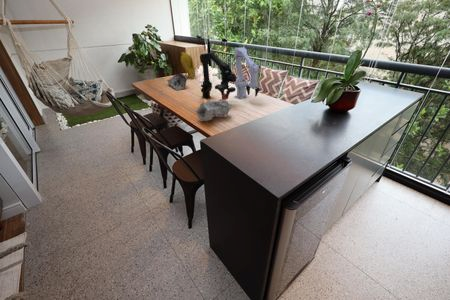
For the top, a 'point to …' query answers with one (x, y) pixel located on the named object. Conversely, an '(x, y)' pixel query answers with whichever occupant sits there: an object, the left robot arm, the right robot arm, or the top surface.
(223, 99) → the brick
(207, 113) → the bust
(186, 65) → the sculpture
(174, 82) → the gray rock
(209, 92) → the left robot arm
